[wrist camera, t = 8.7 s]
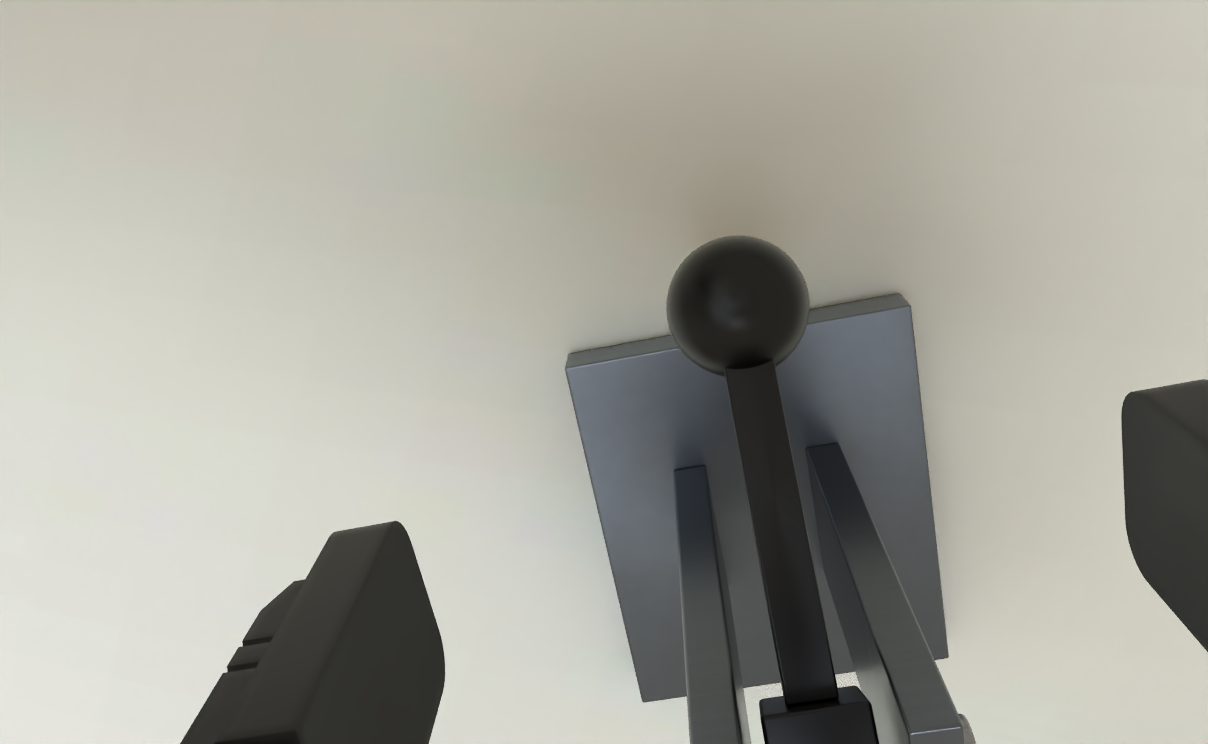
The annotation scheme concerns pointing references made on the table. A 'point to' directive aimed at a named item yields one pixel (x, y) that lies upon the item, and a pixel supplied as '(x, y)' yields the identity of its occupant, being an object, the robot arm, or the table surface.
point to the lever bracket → (725, 534)
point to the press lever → (769, 468)
